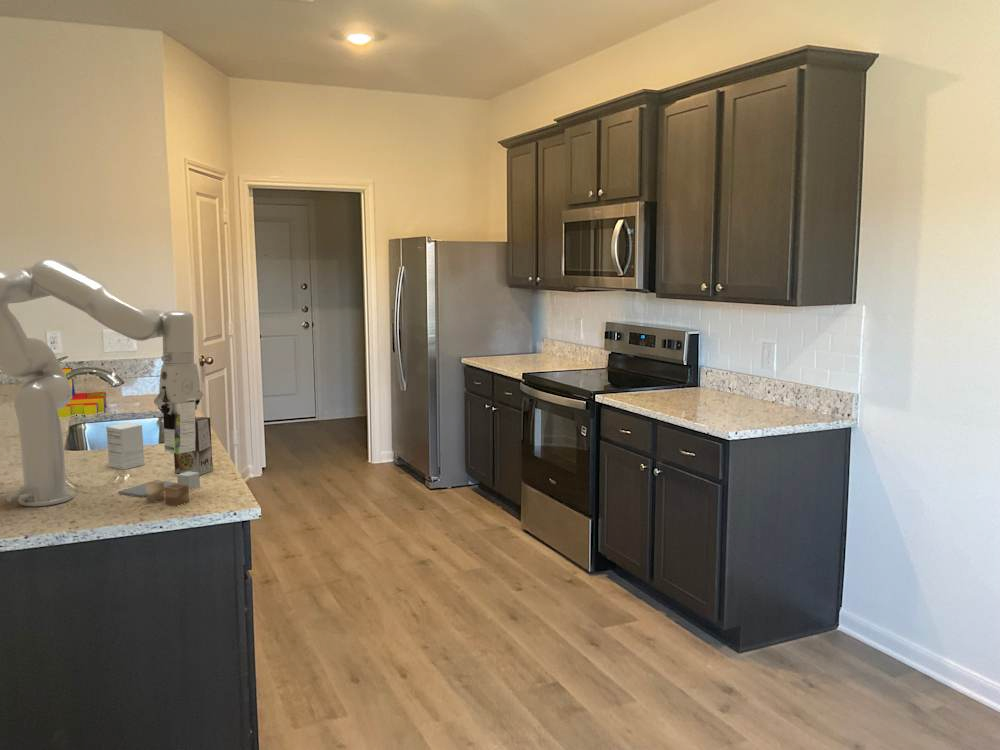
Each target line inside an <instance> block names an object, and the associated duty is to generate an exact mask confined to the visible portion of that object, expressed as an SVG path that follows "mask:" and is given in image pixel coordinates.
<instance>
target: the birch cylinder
mask: <svg viewBox="0 0 1000 750" xmlns="http://www.w3.org/2000/svg"><path fill="white" fill-rule="evenodd" d="M163 481H164V480H160V481H155V480H151V481H148V482H145V483H146V497H145V498H146V502H147V501H149V502H148V503H157V502H156V501H160V502H162V500H163V501H165V500H164V499H165V491H164V482H163Z"/></svg>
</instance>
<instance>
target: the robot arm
mask: <svg viewBox="0 0 1000 750" xmlns="http://www.w3.org/2000/svg"><path fill="white" fill-rule="evenodd" d="M49 296H51V297H54V298H55V299H57V300H59V301H61V302H64V303H65V304H68V305H69V306H72V307H73V308H76V309H77V310H80V311H82V312H84V313H85V314H87V315H88V316H89V317H90V318H93V320H95V321H97V322H98V323H99V324H101V325H103V326H104V327H106V328H107V329H110V330H112V331H114V332H117V333H118V334H120V335H122V336H124V337H126V338H129V339H131V340H134V341H141V342H143V341H148V340H150V339H155V338H162V356H161V358H160V360H161V361H162V364H161V369H160V374H159V388H158V390H159V391H158V392H159V393H158V395H157V396H156V397H155V399H154V400H153V403H154V404H155V406H156V407H157V408H158V410H160V412H161V414H163V428H165V429H171V430H173V429H174V428H175V415H174V414H172V413H173V410H174V404H179V403H183V402H186V401H187V399H190V398H195V411H196V410H197V409H198V405H199V404H200V401H201V399H202V398H203V397H204V394H203V392H202V391H201V383H200V382H201V381H200V376H199V370H198V365H197V363H196V362H195V352H194V351H195V341H194V339H195V337H194V333H195V332H194V331H195V330H194V328H195V327H194V315H193V313H192V312H189V311H182V310H171V311H170V310H169V311H163V310H157V309H153V308H152V309H151V308H150V309H142V310H141V309H138V308H136V307H134V306H131V305H129V304H128V303H126V302H124V301H122V300H120V299H119V298H117V297H115V296H114V295H113V294H112V293H111V292H110V291H109V290H108V288H107V285H105V284H104V283H103V282H100V281H99V280H97V279H95V278H93V277H91V276H88V275H86V274H84V273H83V272H81V271H80V270H79V269H78V268H77V267H76V265H75V264H74V263H72V262H70V261H69V260H67V259H63V258H44V259H40V260H39V261H37V262H36V263H34V264H33V265H31V266H28V267H27V266H25V267H23V268H18V269H0V369H1V371H2V372H3V373H4V374H5V375H6V376H8V377H10V378H14V379H21V378H24V379H25V381H26V382H25V383H24V384H23V383H22V385H21V386H19V388H17V390H16V392H15V394H14V398H13V399H14V400H13V405H14V410H15V411H14V412H15V415H16V420H17V423H18V429H19V440H20V447H21V449H20V450H21V461H22V463H21V464H22V475H23V476H22V477H23V485H21V486H20V485H19V490H17V491H16V492H10V493H8V494H6V495H5V499H6V501H7V502H13V501H16V500H17V501H18V504H19V505H21V506H25V507H46V506H51V505H52V506H53V505H57V504H61V503H62V504H63V503H65V502H68V501H71V500H72V499H73V498H74V497H75V494H74V491H72V490H69V489H68V488H67V476H66V474H67V473H66V464H65V449H64V448H65V447H64V434H63V426H62V423H61V419H60V418H59V415H58V410H59V409H62V408H63V407H65V406H66V405H67V404H68V403H69V402H70V400H71V398H72V388H71V385H70V383H69V380H68V379H67V377H66V375H65V373H64V371H63V369H62V368H63V367H62V365H61V364H60V362H59V360H58V358H57V356H56V354H55V352H54V351H53V350H52V348H51V347H50V346H49V345H48V344H47V343H46V342H44V341H43V340H41V339H38V338H34V337H28V336H27V335H26V332H25V331H24V329H23V327H22V325H21V323H20V322H19V320H18V319H17V317H16V316H15V315H14V314H13V313H12V311H11V310H10V308H9V304H18V303H19V304H20V303H24V302H30V301H33V300H37V299H42V298H46V297H49ZM168 405H170V406H169V408H168Z"/></svg>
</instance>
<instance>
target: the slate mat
mask: <svg viewBox="0 0 1000 750" xmlns="http://www.w3.org/2000/svg"><path fill="white" fill-rule="evenodd" d="M154 481H161V480H159V479H156V480H154ZM162 481H163V482H164V492H165V487H168V486H171V485H174V484H178V482H172V481H166V480H162ZM146 483H147V482H145V483H142V484H139V485H135V486H132V487H129V488H126V489H122V490H119V491H118V493H122V494H121V495H123V494H128V495H127V496H130V495H133V496H132V497H136V496H138V498H142V497H144V498H146V497H145V496H146Z"/></svg>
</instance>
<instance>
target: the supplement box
mask: <svg viewBox="0 0 1000 750" xmlns="http://www.w3.org/2000/svg"><path fill="white" fill-rule="evenodd" d="M105 427H106V430H105V431H106V439H107V440H106V441H107V443H106V444H107V455H108V458H107V459H108V466H109V467H110V468H112V467H113V469H117V468H119V469H118V470H122V469H124V470H128V469H133V468H136V467H141V466H144V465H145V451H144V438H143V436H144V435H143V425H142V424H139V423H132V422H123V423H118V424H113V425H108V426H105Z"/></svg>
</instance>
